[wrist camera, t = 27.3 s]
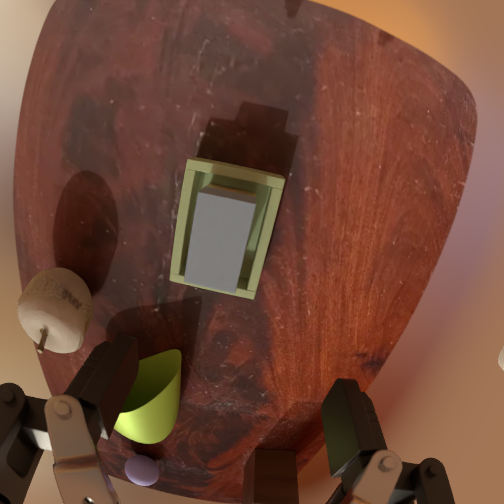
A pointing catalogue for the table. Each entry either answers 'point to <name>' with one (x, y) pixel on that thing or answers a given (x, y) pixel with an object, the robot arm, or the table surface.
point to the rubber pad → (219, 238)
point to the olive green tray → (261, 227)
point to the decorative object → (56, 310)
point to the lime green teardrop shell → (152, 399)
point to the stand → (270, 478)
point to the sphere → (142, 470)
